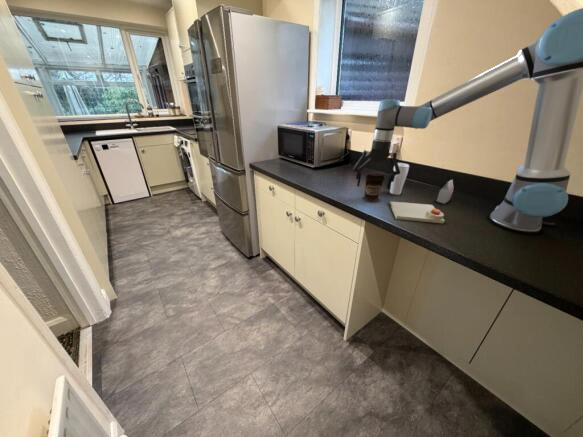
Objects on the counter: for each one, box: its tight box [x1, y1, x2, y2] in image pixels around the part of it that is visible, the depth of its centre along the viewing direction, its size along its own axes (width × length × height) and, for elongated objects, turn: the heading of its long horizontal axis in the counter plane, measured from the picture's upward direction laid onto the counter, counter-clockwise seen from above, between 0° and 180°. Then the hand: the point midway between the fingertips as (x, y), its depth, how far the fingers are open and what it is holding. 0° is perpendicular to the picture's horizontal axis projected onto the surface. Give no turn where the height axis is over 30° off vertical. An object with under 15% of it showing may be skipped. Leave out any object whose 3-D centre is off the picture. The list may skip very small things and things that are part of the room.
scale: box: [389, 201, 446, 224], centre depth 99 cm, size 18×15×3 cm
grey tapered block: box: [436, 179, 455, 204], centre depth 109 cm, size 4×7×10 cm, turn 131°
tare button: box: [431, 208, 441, 215], centre depth 93 cm, size 3×3×2 cm
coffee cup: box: [363, 171, 386, 203], centre depth 109 cm, size 9×8×13 cm
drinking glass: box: [389, 162, 410, 196], centre depth 116 cm, size 7×7×15 cm
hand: (372, 186), depth 109 cm, fingers open, 13 cm apart
